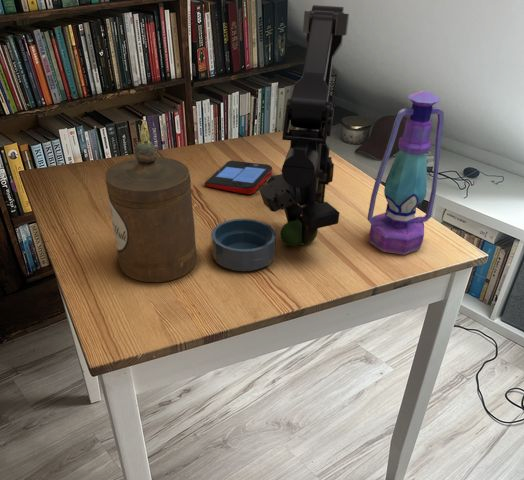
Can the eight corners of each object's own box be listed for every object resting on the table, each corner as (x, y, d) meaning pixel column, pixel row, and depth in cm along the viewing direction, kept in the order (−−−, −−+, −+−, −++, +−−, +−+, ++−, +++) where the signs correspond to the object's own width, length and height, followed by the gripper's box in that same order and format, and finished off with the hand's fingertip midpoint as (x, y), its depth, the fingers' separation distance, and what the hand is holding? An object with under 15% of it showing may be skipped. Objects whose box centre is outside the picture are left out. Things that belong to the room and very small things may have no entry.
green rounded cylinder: (308, 233, 119) (310, 212, 116) (320, 244, 116) (323, 222, 113) (275, 241, 117) (276, 219, 113) (286, 253, 113) (288, 231, 110)
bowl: (257, 235, 118) (258, 213, 115) (285, 264, 110) (287, 242, 107) (202, 248, 114) (201, 226, 111) (227, 279, 106) (227, 256, 102)
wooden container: (128, 240, 115) (112, 132, 101) (200, 243, 115) (194, 135, 101) (111, 281, 104) (90, 167, 90) (191, 285, 104) (183, 170, 89)
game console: (229, 164, 145) (228, 156, 143) (275, 173, 141) (275, 165, 140) (203, 186, 135) (203, 177, 133) (252, 197, 131) (252, 188, 130)
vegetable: (158, 220, 122) (148, 126, 109) (139, 217, 123) (127, 124, 109) (165, 210, 125) (156, 119, 112) (146, 208, 126) (135, 117, 113)
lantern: (414, 226, 123) (447, 80, 103) (435, 254, 114) (475, 100, 94) (355, 230, 121) (378, 81, 101) (372, 259, 112) (401, 103, 92)
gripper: (244, 152, 109) (244, 225, 119) (290, 192, 96) (285, 269, 107) (294, 144, 112) (290, 214, 123) (345, 181, 100) (335, 256, 110)
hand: (298, 237), depth 116 cm, fingers closed on green rounded cylinder, 5 cm apart
